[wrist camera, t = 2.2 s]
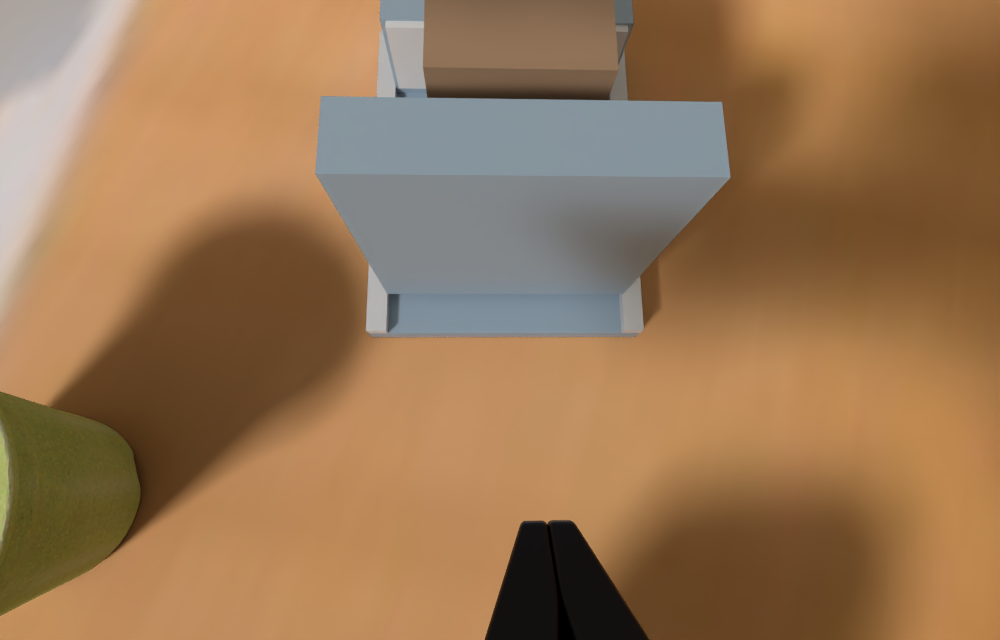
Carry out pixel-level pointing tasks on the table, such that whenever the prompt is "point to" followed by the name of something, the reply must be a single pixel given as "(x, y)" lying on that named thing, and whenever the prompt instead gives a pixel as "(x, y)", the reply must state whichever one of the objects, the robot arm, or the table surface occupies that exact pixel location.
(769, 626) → the table surface
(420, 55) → the fixed jaw
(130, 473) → the plant pot
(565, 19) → the block
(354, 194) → the jaw
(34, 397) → the table surface
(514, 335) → the light blue base plate
